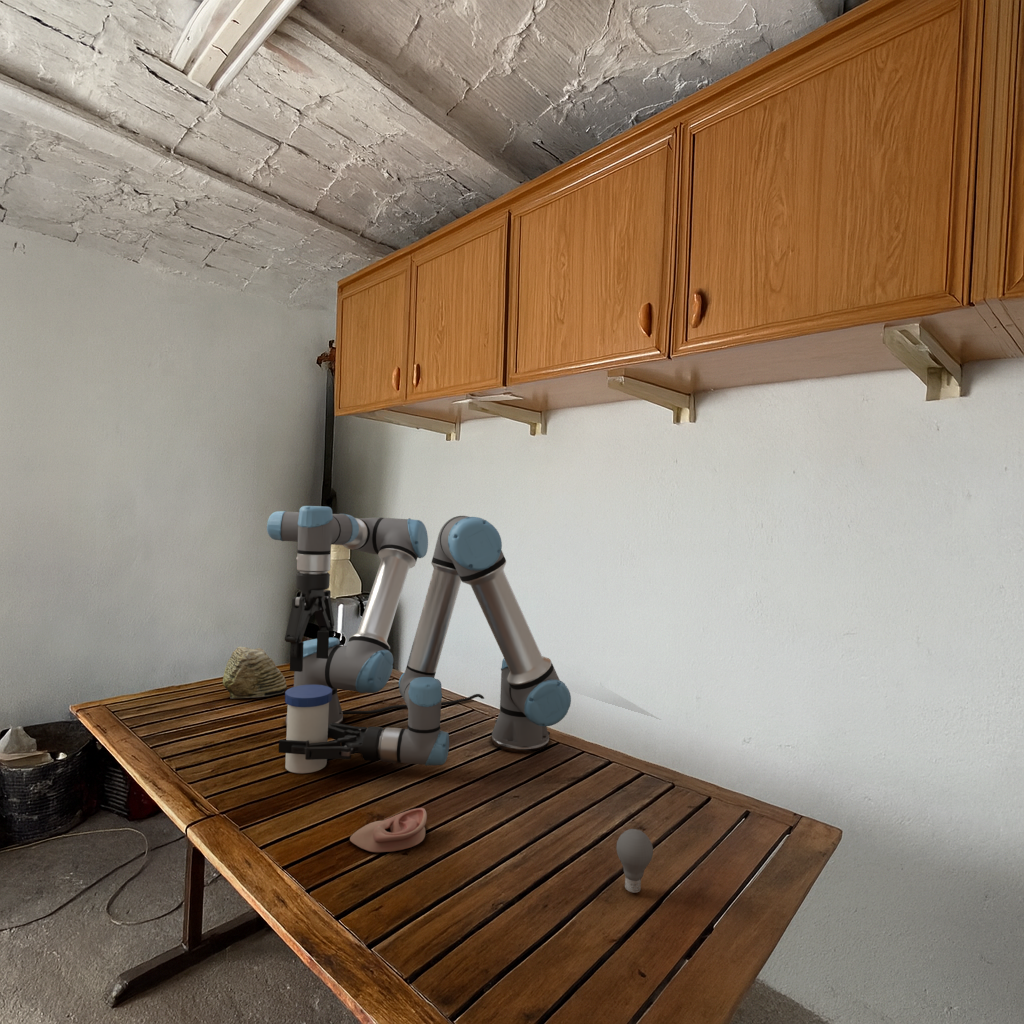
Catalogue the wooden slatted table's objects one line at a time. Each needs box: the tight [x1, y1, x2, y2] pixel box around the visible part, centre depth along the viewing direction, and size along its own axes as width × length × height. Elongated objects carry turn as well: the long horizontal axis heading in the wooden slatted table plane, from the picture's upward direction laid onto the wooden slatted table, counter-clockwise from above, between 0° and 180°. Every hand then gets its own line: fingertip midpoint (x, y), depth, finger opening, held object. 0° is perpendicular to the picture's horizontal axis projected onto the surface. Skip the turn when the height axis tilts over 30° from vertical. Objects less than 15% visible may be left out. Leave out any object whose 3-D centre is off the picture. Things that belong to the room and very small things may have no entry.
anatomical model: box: [349, 807, 428, 853], centre depth 119 cm, size 13×4×12 cm
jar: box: [284, 703, 329, 774], centre depth 149 cm, size 9×9×17 cm
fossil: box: [222, 646, 288, 699], centre depth 198 cm, size 9×18×15 cm, turn 132°
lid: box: [284, 685, 332, 707], centre depth 149 cm, size 11×11×2 cm
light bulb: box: [615, 828, 654, 894], centre depth 106 cm, size 6×6×10 cm
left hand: (309, 664), depth 149 cm, fingers open, 12 cm apart
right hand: (288, 737), depth 149 cm, fingers closed on jar, 9 cm apart
